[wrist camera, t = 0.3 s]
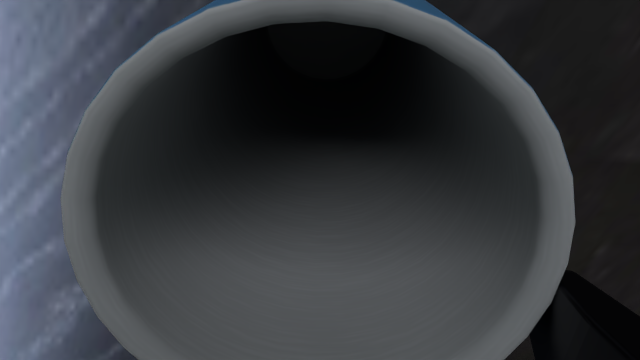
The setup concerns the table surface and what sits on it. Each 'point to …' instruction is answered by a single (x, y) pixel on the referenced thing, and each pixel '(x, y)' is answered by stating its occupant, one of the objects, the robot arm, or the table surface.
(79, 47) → the table surface
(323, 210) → the cup
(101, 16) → the table surface
